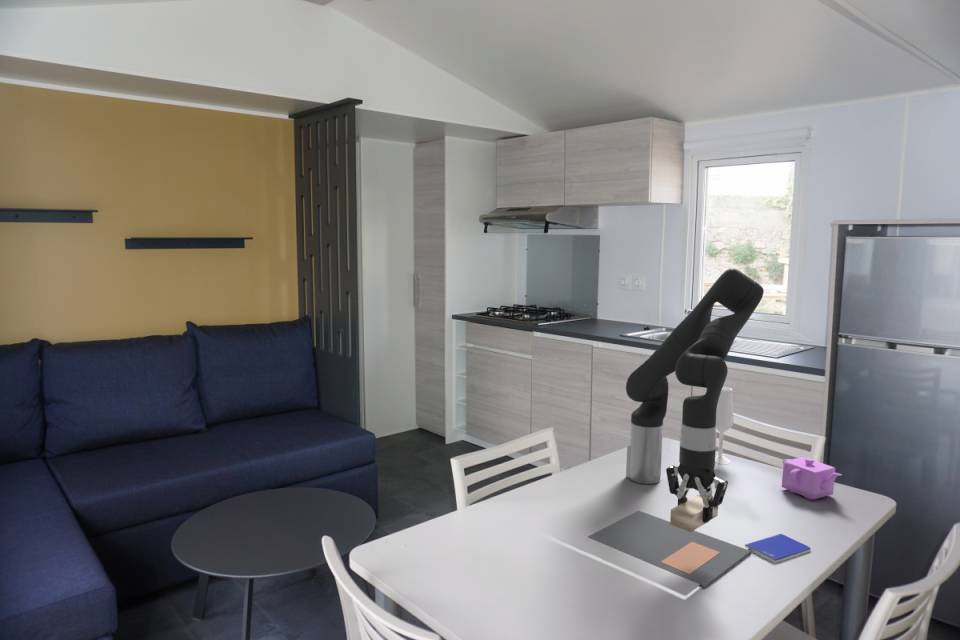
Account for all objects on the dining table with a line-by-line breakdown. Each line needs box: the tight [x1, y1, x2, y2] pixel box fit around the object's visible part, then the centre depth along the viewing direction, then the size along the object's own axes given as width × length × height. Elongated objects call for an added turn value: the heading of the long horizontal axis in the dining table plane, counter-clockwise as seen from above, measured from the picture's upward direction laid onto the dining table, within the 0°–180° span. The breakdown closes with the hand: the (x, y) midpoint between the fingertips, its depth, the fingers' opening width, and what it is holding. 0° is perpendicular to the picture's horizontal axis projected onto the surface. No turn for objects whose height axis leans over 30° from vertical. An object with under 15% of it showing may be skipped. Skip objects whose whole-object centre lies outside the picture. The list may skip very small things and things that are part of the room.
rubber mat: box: [587, 510, 752, 589], centre depth 153 cm, size 30×22×1 cm
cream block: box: [669, 494, 719, 532], centre depth 145 cm, size 12×5×4 cm, turn 134°
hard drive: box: [744, 533, 811, 564], centre depth 152 cm, size 2×8×12 cm
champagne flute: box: [715, 386, 734, 465], centre depth 209 cm, size 7×7×24 cm
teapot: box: [781, 456, 843, 501], centre depth 183 cm, size 18×14×10 cm
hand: (694, 517), depth 145 cm, fingers closed on cream block, 5 cm apart
